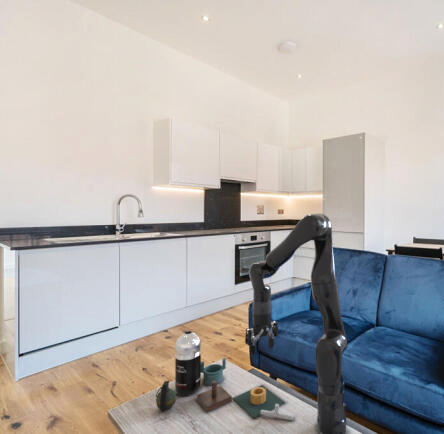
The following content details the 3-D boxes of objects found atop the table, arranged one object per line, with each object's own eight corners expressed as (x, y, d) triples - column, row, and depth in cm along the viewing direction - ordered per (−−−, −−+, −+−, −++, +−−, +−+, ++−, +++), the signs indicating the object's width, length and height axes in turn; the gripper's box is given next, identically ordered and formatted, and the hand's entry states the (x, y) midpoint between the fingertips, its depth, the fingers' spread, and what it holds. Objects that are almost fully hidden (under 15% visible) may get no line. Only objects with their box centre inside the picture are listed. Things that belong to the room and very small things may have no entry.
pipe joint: (260, 415, 112) (260, 403, 112) (261, 412, 114) (262, 400, 114) (291, 421, 110) (292, 409, 110) (292, 418, 111) (293, 406, 111)
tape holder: (231, 401, 121) (231, 382, 121) (207, 412, 114) (207, 392, 114) (220, 390, 128) (220, 372, 128) (196, 399, 122) (196, 381, 122)
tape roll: (268, 400, 121) (268, 391, 121) (255, 406, 117) (255, 397, 117) (260, 393, 126) (260, 385, 126) (247, 399, 122) (247, 390, 122)
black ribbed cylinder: (191, 398, 122) (192, 336, 122) (169, 395, 124) (169, 334, 124) (205, 384, 132) (206, 327, 132) (184, 381, 134) (184, 325, 134)
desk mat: (284, 403, 120) (284, 402, 120) (254, 419, 111) (254, 418, 111) (262, 385, 132) (262, 384, 132) (232, 398, 123) (232, 397, 123)
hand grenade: (159, 403, 119) (159, 378, 119) (178, 402, 120) (178, 376, 120) (152, 417, 111) (152, 389, 111) (172, 415, 112) (172, 388, 112)
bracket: (198, 382, 134) (198, 362, 134) (214, 372, 142) (214, 353, 142) (212, 388, 130) (212, 367, 130) (228, 378, 138) (228, 358, 137)
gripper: (251, 317, 115) (251, 359, 116) (281, 309, 125) (281, 348, 125) (241, 312, 121) (241, 353, 121) (271, 305, 131) (271, 342, 131)
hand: (262, 350), depth 123 cm, fingers open, 8 cm apart
